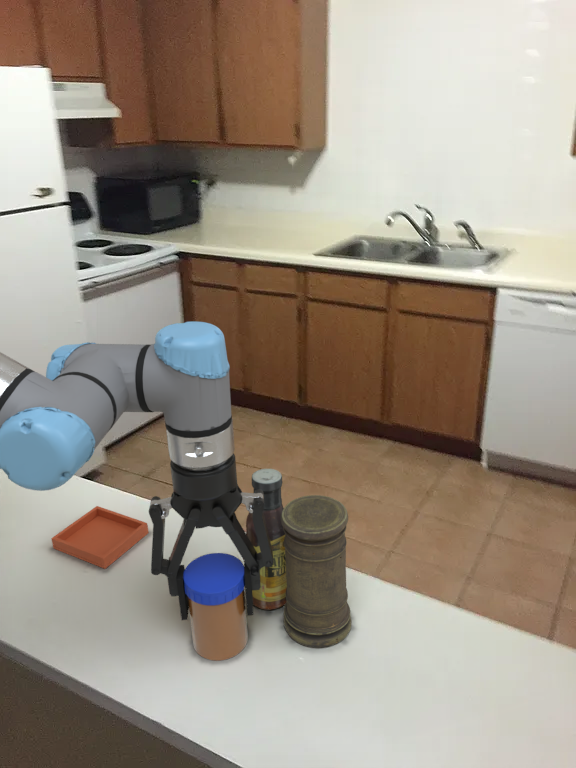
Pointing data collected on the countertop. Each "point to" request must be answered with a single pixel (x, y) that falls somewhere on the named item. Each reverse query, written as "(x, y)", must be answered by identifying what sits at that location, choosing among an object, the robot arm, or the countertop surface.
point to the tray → (100, 536)
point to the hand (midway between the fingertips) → (217, 609)
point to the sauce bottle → (274, 576)
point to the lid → (214, 579)
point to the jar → (219, 628)
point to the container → (316, 571)
